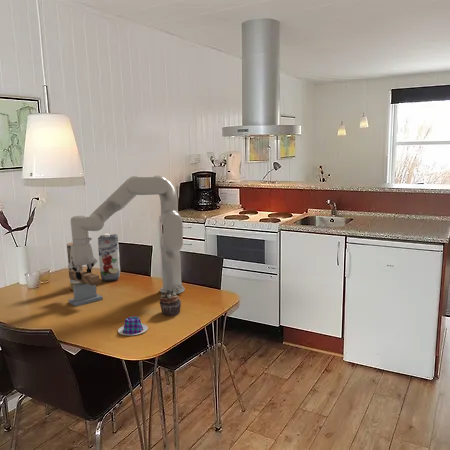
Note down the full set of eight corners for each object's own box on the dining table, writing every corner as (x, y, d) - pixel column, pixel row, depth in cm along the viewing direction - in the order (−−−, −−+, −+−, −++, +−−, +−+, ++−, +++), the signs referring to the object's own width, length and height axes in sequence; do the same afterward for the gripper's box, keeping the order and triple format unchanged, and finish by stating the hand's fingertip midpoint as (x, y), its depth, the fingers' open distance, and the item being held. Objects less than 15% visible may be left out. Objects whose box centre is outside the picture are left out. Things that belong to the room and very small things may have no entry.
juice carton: (102, 277, 252) (99, 232, 247) (121, 276, 253) (118, 231, 248) (100, 282, 243) (96, 235, 238) (119, 281, 244) (115, 234, 239)
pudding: (151, 325, 182) (150, 313, 181) (144, 337, 170) (143, 324, 169) (123, 325, 182) (122, 313, 181) (114, 337, 171) (113, 324, 170)
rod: (99, 283, 206) (98, 275, 205) (92, 285, 203) (91, 277, 202) (76, 276, 219) (75, 269, 218) (69, 278, 216) (68, 270, 215)
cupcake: (175, 317, 188) (174, 295, 186) (156, 315, 191) (155, 293, 190) (185, 310, 197) (184, 289, 195) (166, 307, 200) (165, 287, 198)
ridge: (102, 299, 214) (101, 282, 212) (75, 306, 205) (73, 288, 203) (95, 295, 220) (94, 278, 218) (68, 302, 211) (67, 284, 209)
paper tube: (80, 291, 228) (75, 244, 224) (68, 290, 229) (64, 244, 225) (86, 287, 235) (82, 242, 230) (75, 286, 236) (71, 241, 232)
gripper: (94, 237, 216) (97, 273, 219) (60, 243, 205) (63, 280, 208) (100, 240, 210) (103, 276, 213) (66, 245, 199) (70, 283, 202)
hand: (84, 277), depth 210 cm, fingers closed on rod, 4 cm apart
